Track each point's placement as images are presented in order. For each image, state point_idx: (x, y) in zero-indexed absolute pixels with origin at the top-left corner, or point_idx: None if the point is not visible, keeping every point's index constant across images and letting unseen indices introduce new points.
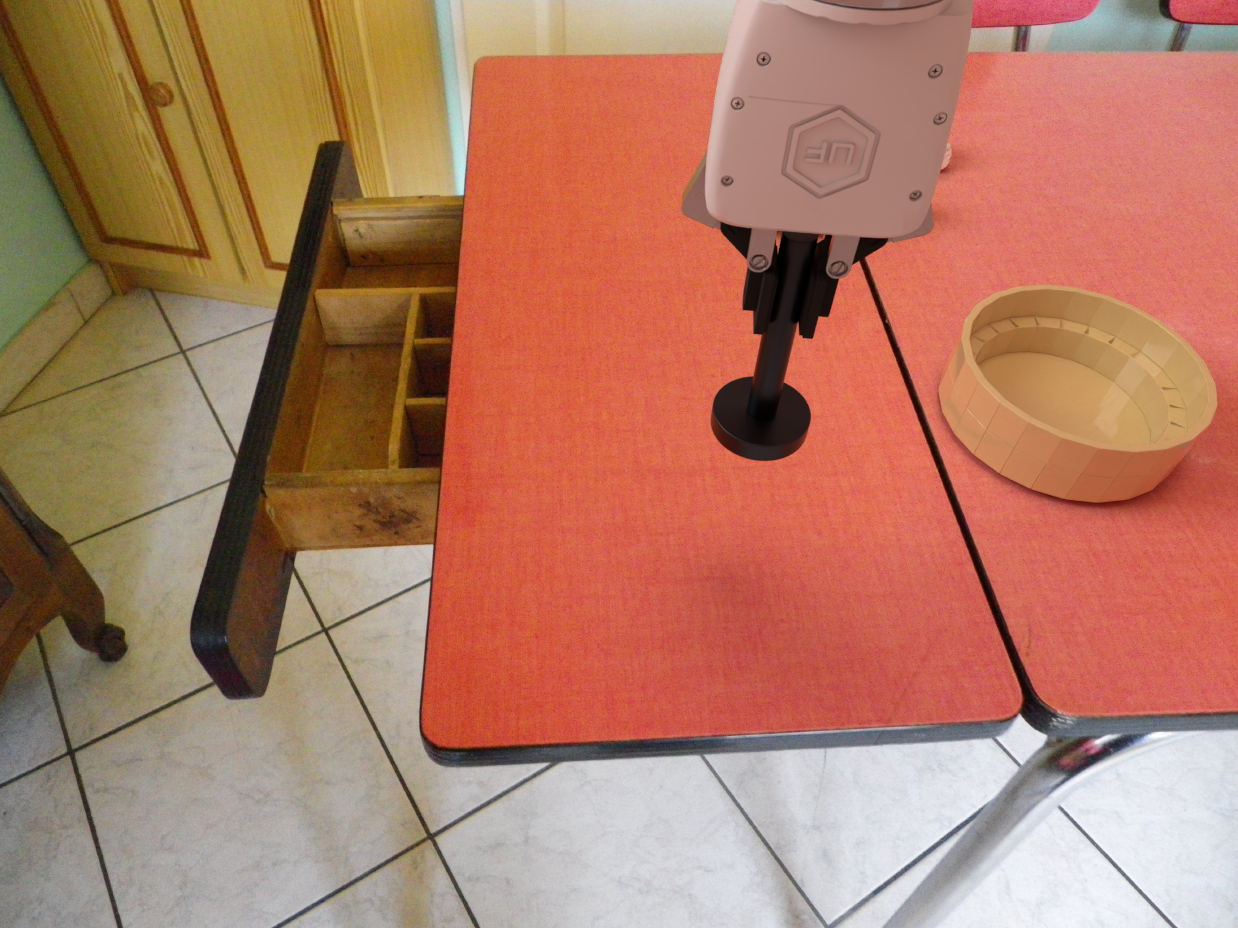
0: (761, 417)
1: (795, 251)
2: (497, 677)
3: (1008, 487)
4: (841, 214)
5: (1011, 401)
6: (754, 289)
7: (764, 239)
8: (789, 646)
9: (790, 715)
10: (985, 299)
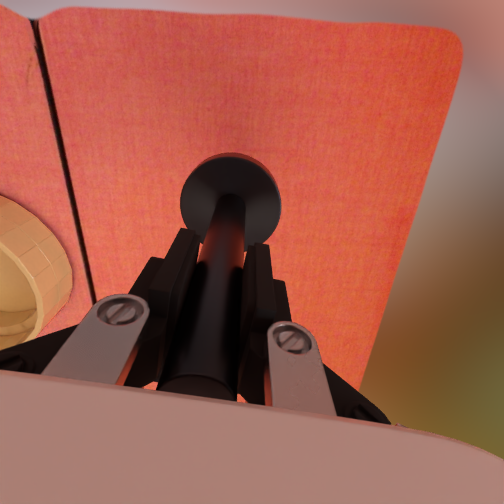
0: (234, 196)
1: (212, 358)
2: (414, 82)
3: (31, 206)
4: (42, 491)
5: (21, 274)
6: (276, 301)
7: (296, 388)
8: (206, 86)
9: (216, 23)
10: None
